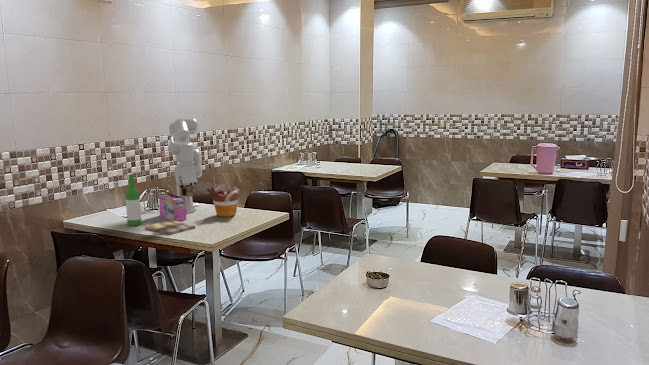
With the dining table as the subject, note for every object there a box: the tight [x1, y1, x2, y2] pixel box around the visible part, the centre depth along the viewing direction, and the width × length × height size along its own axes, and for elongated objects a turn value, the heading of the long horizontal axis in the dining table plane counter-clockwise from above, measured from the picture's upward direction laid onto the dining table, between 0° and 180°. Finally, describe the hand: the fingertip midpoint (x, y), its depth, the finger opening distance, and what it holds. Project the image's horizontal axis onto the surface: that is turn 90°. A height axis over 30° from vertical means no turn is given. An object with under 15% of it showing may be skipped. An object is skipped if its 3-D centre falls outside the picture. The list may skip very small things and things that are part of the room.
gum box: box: [158, 193, 187, 222], centre depth 316 cm, size 24×8×14 cm, turn 41°
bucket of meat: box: [207, 185, 240, 218], centre depth 320 cm, size 20×16×20 cm
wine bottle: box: [124, 173, 142, 227], centre depth 297 cm, size 8×8×30 cm
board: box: [158, 222, 196, 236], centre depth 286 cm, size 18×9×2 cm, turn 143°
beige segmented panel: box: [144, 219, 185, 233], centre depth 292 cm, size 18×12×2 cm, turn 143°
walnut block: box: [180, 184, 197, 197], centre depth 301 cm, size 5×8×6 cm, turn 53°
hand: (188, 194), depth 301 cm, fingers closed on walnut block, 5 cm apart
